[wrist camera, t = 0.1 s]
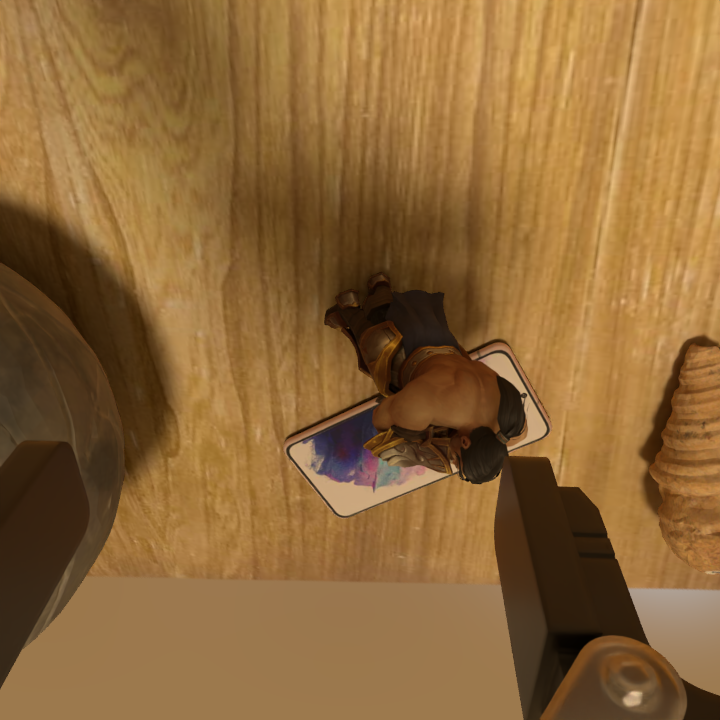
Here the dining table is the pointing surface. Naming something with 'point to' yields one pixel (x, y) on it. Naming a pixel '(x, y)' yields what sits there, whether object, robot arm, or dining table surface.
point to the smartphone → (372, 475)
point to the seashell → (692, 463)
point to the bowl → (59, 413)
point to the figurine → (428, 385)
